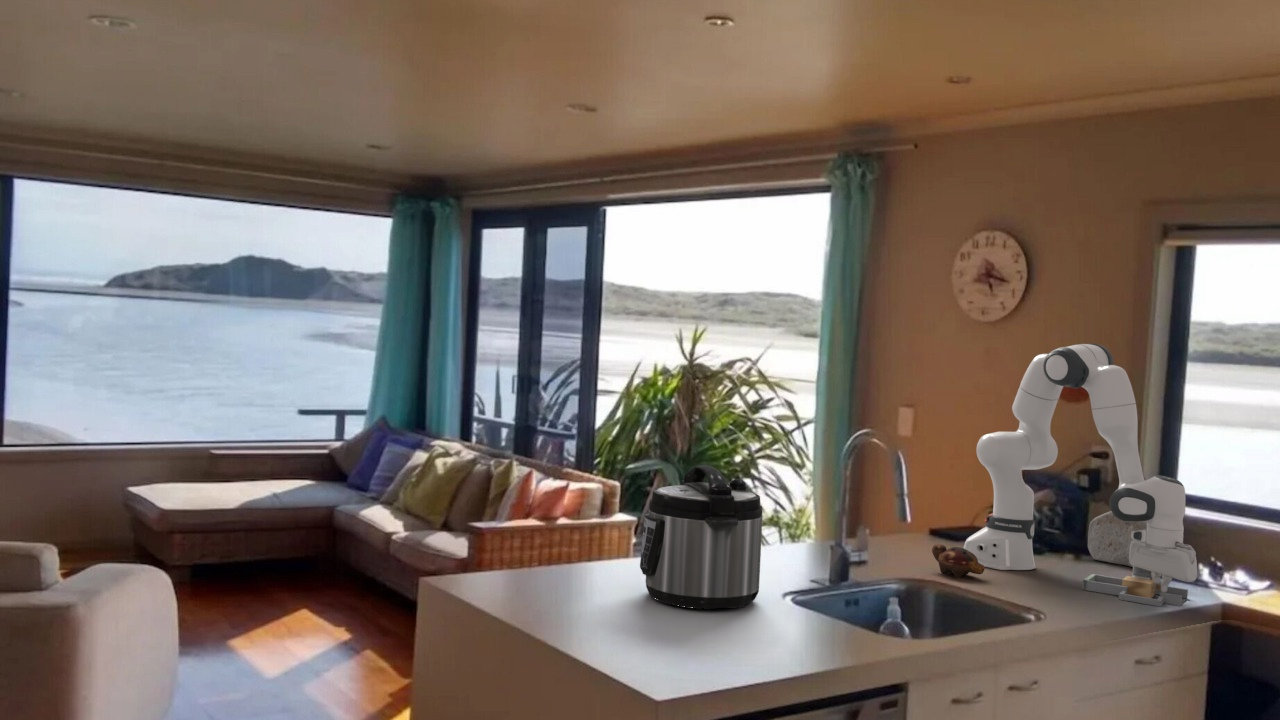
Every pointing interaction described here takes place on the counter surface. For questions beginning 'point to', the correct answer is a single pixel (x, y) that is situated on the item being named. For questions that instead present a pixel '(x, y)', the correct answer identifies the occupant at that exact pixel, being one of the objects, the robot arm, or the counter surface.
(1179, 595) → the channel
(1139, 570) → the pill bottle
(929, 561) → the counter surface
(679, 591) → the pressure cooker
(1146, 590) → the oak block
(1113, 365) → the robot arm
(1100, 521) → the decorative stone
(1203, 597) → the counter surface
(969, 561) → the decorative turtle
